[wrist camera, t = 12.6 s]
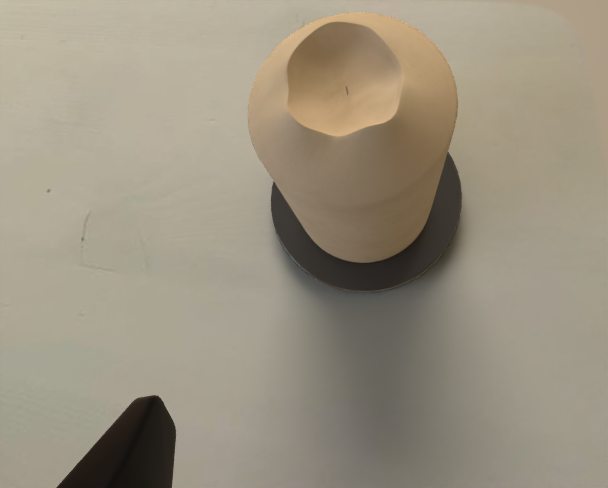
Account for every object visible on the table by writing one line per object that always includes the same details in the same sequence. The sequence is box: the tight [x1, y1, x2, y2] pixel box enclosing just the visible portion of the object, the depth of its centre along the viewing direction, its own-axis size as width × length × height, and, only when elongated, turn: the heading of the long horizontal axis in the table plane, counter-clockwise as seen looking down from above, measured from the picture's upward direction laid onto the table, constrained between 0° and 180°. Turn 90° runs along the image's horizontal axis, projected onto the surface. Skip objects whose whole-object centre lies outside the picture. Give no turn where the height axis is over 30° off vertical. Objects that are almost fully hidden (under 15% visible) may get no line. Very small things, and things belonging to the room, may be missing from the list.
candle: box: [248, 13, 458, 263], centre depth 17 cm, size 6×6×10 cm
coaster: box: [271, 152, 462, 293], centre depth 22 cm, size 8×8×1 cm
